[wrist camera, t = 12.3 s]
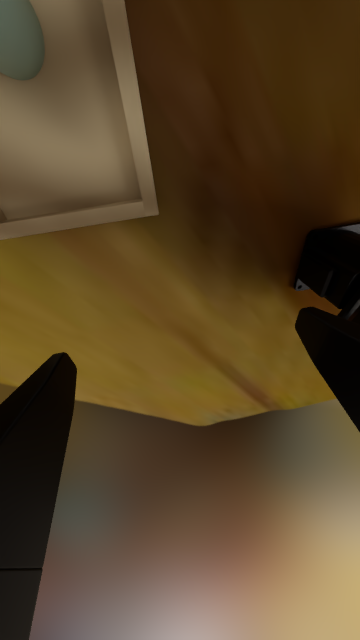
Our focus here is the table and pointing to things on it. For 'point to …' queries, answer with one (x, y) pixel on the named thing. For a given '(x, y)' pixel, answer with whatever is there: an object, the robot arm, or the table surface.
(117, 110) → the tray
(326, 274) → the robot arm
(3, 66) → the pin
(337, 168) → the table surface
